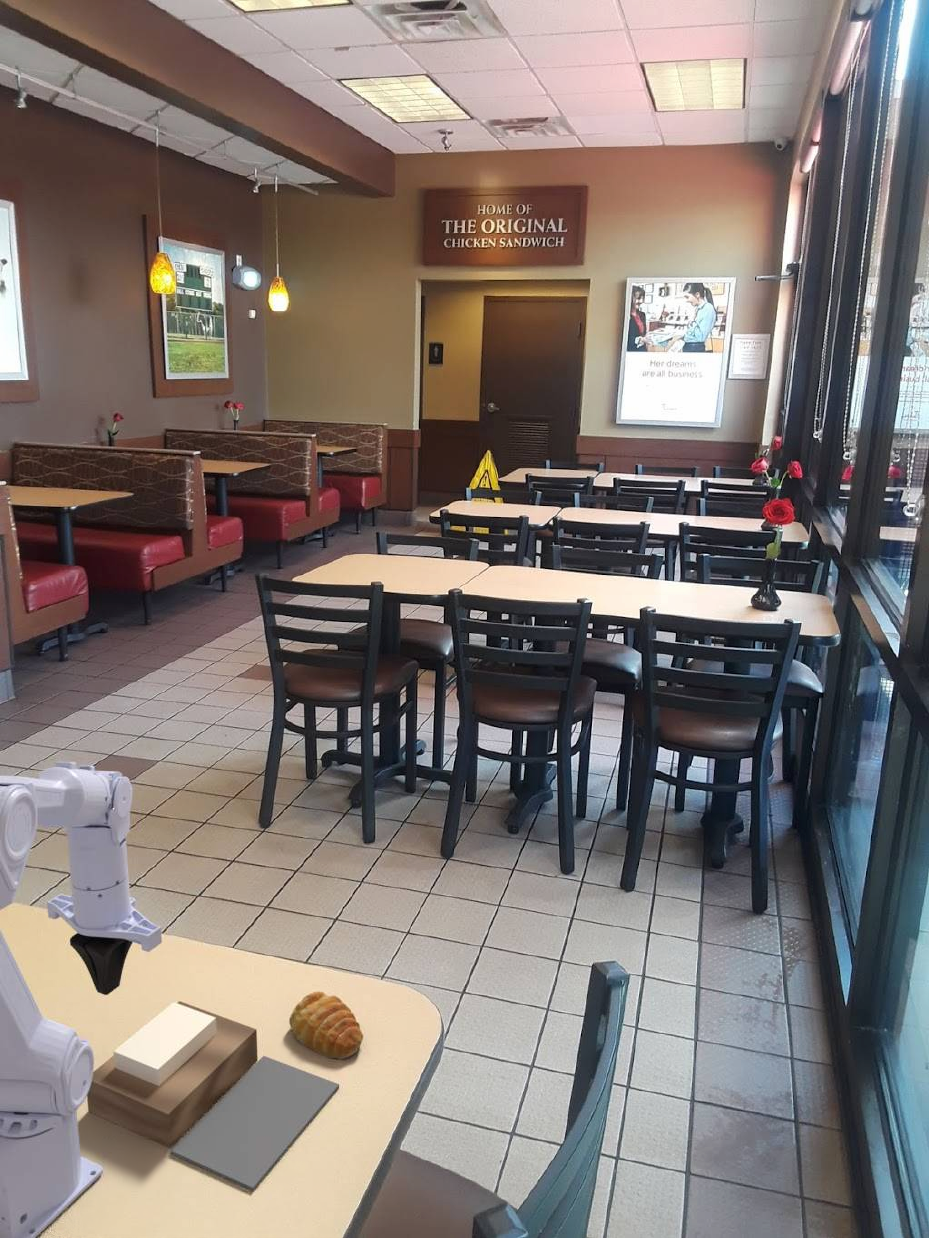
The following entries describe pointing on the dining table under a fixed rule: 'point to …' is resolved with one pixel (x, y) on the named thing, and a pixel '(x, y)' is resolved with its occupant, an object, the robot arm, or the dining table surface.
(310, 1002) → the pastry
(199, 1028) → the block
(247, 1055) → the brown wooden block
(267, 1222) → the dining table surface
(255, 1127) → the mat
